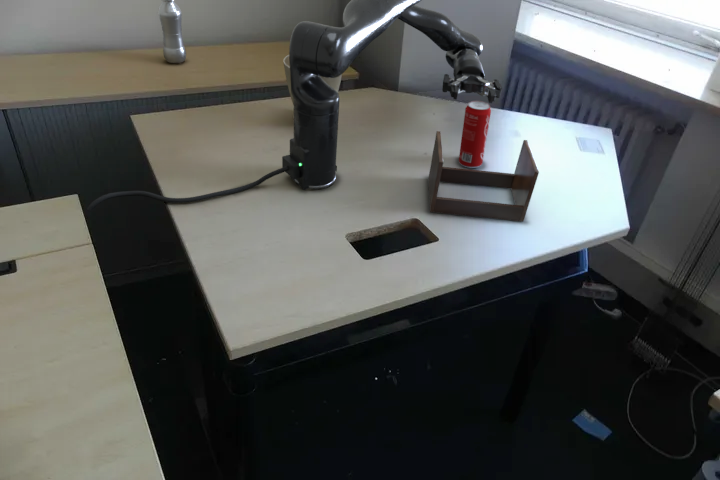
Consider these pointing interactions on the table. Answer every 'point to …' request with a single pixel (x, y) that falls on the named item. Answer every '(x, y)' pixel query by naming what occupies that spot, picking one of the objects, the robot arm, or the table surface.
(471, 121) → the beverage can
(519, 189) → the walnut crate
